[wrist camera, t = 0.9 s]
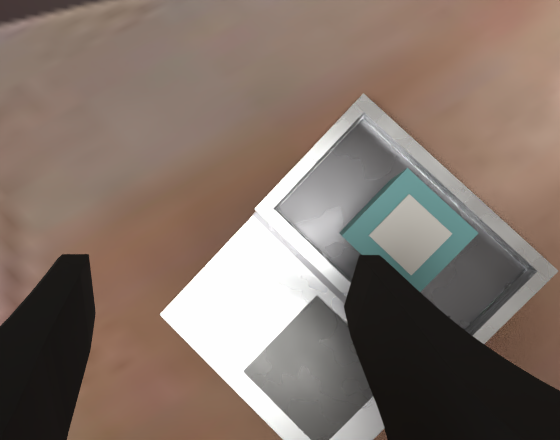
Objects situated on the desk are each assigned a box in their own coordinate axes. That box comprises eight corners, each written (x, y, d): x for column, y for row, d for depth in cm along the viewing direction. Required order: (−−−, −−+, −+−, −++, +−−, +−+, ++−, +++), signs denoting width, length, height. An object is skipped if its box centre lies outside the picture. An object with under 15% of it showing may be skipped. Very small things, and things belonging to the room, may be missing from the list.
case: (540, 267, 26) (558, 270, 24) (431, 374, 26) (440, 387, 24) (360, 103, 27) (363, 93, 25) (260, 209, 27) (254, 208, 25)
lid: (432, 374, 26) (435, 379, 25) (327, 477, 27) (327, 486, 26) (260, 209, 27) (258, 208, 26) (163, 312, 28) (158, 315, 27)
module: (444, 230, 25) (481, 233, 19) (392, 283, 26) (412, 302, 19) (389, 180, 26) (408, 166, 20) (339, 232, 26) (341, 236, 20)
